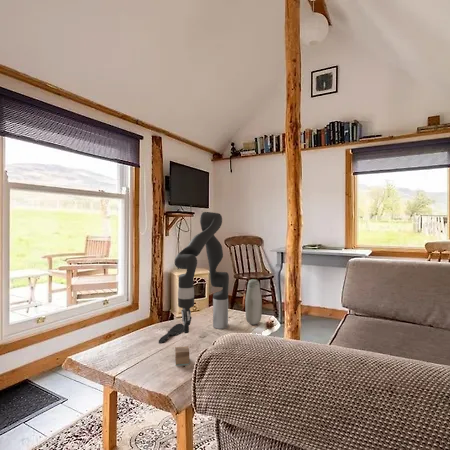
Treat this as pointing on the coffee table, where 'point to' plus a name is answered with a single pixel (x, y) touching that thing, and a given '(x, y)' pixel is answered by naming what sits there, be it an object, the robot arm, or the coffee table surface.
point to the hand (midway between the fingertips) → (186, 332)
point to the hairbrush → (173, 332)
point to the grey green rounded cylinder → (253, 302)
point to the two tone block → (182, 355)
